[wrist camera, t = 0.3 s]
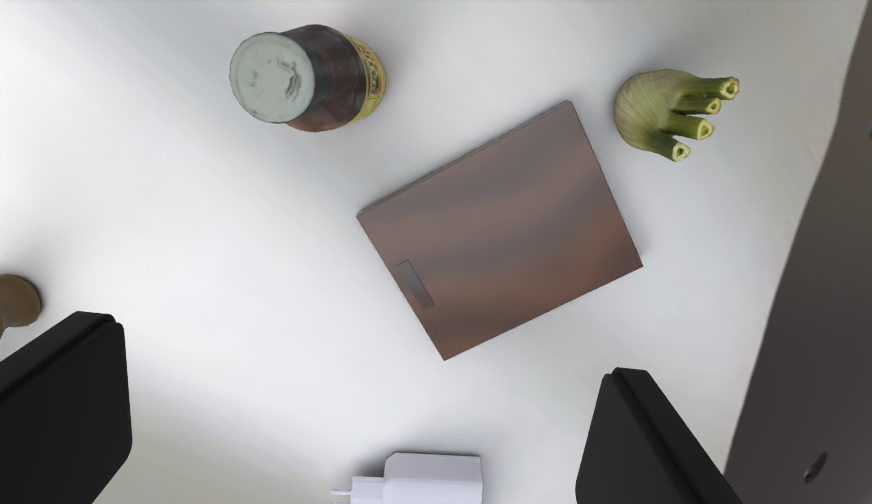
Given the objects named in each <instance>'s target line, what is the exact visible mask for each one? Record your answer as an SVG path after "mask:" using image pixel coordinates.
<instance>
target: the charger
mask: <svg viewBox="0 0 872 504" xmlns="http://www.w3.org/2000/svg"><path fill="white" fill-rule="evenodd" d="M482 491H483V479H482V471H481V463H480V457H473V456H454V455H434V454H414V453H394V454H393V455H392V456H390V457H389V458H388V459H387V460H386V462H385V470H384V477H364V476H352V486H351V490H339V489H332V490H331V494H337V495H351V503H334V502H332V503H331V504H481V502H482Z"/></svg>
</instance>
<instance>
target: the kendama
mask: <svg viewBox="0 0 872 504" xmlns="http://www.w3.org/2000/svg"><path fill="white" fill-rule="evenodd" d="M39 314H40V300H39V297H38V295H37V292H36V291H35V289H34V288H33V287H32V286H31V285H30V283H29V282H27V281H25V280H23V279H21V278H19V277H16V276H11V275H0V339H1V336H2V334H3V332H4V329H6V328H8V327H22V326H28V325H29V324H31V323H33V322H35V321H36V320H37V318H38V316H39Z"/></svg>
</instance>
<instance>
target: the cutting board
mask: <svg viewBox="0 0 872 504" xmlns="http://www.w3.org/2000/svg"><path fill="white" fill-rule="evenodd" d="M357 219H358V221H359V222H360V224H361V226H362V227H363V229H364V230H365V232H366V234H367V235H368V237H369V239H370V240H371V242H372V244H373V245H374V247H375V248H376V250H377V252H378V253H379V255H380V257H381V258H382V260H383V262H384V263H385V265H386V266H387V268H388V270H389V271H390V273H391V275H392V276H393V278H394V280H395V281H396V283H397V285H398V286H399V288H400V289H401V291H402V293H403V294H404V296H405V298H406V299H407V301H408V303H409V304H410V306H411V307H412V309H413V311H414V312H415V314H416V316H417V317H418V319H419V321H420V322H421V324H422V326H423V327H424V329H425V330H426V332H427V334H428V335H429V337H430V339H431V340H432V342H433V344H434V345H435V347H436V348H437V350H438V352H439V353H440V355H441V357H442V358H443V360H444V361H445V360H447V359H449V358H452V357H454V356H456V355H458V354H460V353H462V352H464V351H466V350H468V349H471V348H473V347H475V346H477V345H479V344H481V343H483V342H485V341H487V340H489V339H492V338H494V337H496V336H498V335H500V334H502V333H504V332H506V331H508V330H511V329H513V328H515V327H517V326H519V325H521V324H523V323H525V322H527V321H529V320H532V319H534V318H536V317H538V316H540V315H542V314H544V313H546V312H548V311H551V310H553V309H555V308H557V307H559V306H561V305H563V304H565V303H567V302H570V301H572V300H574V299H576V298H578V297H580V296H582V295H584V294H586V293H588V292H591V291H593V290H595V289H597V288H599V287H601V286H603V285H605V284H607V283H610V282H612V281H614V280H616V279H618V278H620V277H622V276H624V275H626V274H628V273H631V272H633V271H635V270H637V269H639V268H641V267H643V264H642V262H641V260H640V257H639V255H638V253H637V251H636V248H635V246H634V244H633V241H632V239H631V237H630V235H629V232H628V230H627V228H626V225H625V223H624V221H623V219H622V216H621V214H620V212H619V209H618V207H617V205H616V203H615V200H614V198H613V196H612V193H611V191H610V189H609V187H608V184H607V182H606V180H605V177H604V175H603V173H602V171H601V168H600V166H599V164H598V161H597V159H596V157H595V155H594V152H593V150H592V148H591V145H590V143H589V141H588V139H587V136H586V134H585V132H584V129H583V127H582V125H581V123H580V120H579V118H578V116H577V113H576V111H575V109H574V107H573V104H572V102H571V101H565V102H563V103H561V104H559V105H557V106H556V107H554V108H552V109H550V110H548V111H546V112H544V113H543V114H541V115H539V116H537V117H535V118H533V119H531V120H529V121H528V122H526V123H524V124H522V125H520V126H518V127H516V128H515V129H513V130H511V131H509V132H507V133H505V134H503V135H502V136H500V137H498V138H496V139H494V140H492V141H490V142H489V143H487V144H485V145H483V146H481V147H479V148H477V149H476V150H474V151H472V152H470V153H468V154H466V155H464V156H462V157H461V158H459V159H457V160H455V161H453V162H451V163H449V164H448V165H446V166H444V167H442V168H440V169H438V170H436V171H435V172H433V173H431V174H429V175H427V176H425V177H423V178H422V179H420V180H418V181H416V182H414V183H412V184H410V185H409V186H407V187H405V188H403V189H401V190H399V191H397V192H395V193H394V194H392V195H390V196H388V197H386V198H384V199H382V200H381V201H379V202H377V203H375V204H373V205H371V206H369V207H368V208H366V209H364V210H362V211H360V212H359V213H358V215H357Z"/></svg>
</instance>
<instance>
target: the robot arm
mask: <svg viewBox="0 0 872 504" xmlns="http://www.w3.org/2000/svg"><path fill="white" fill-rule="evenodd" d="M131 447H132V428H131V415H130V402H129V389H128V375H127V362H126V349H125V336H124V328H123V326H122V324H120V323H116V321H115V319H114V317H113V316H112V315H110V314H101V313H92V312H82V311H77V312H75V313H73V314H71V315H70V316H68V317H67V318H65V319H64V320H62V321H61V322H59V323H58V324H56V325H55V326H53V327H52V328H50V329H49V330H47V331H46V332H44V333H43V334H41V335H40V336H38V337H37V338H35V339H34V340H32V341H31V342H29V343H28V344H26V345H25V346H23V347H22V348H20V349H19V350H17V351H16V352H14V353H13V354H11V355H10V356H8V357H7V358H5V359H4V360H3V361H1V362H0V504H92V503H93V502H94V500H95V499H96V498H97V497H98V495H99V494H100V493H101V491H102V490H103V489H104V488H105V486H106V485H107V484H108V483H109V481H110V480H111V479H112V478H113V476H114V475H115V474H116V472H117V471H118V470H119V469H120V467H121V466H122V465H123V464H124V462H125V461H126V459H127V458H128V456H129V453H130V450H131ZM575 493H576V501H577V504H743V503H742V502H741V500H740V499H739V498H738V496H737V495H736V493H735V492H734V491H733V489H732V488H731V486H730V485H729V484H728V482H727V481H726V480H725V478H724V477H723V475H722V474H721V473H720V471H719V470H718V468H717V467H716V466H715V464H714V463H713V461H712V460H711V459H710V457H709V456H708V454H707V453H706V452H705V450H704V449H703V448H702V446H701V445H700V443H699V442H698V441H697V439H696V438H695V436H694V435H693V434H692V432H691V431H690V430H689V428H688V427H687V425H686V424H685V423H684V421H683V420H682V418H681V417H680V416H679V414H678V413H677V411H676V410H675V409H674V407H673V406H672V405H671V403H670V402H669V400H668V399H667V398H666V396H665V395H664V393H663V392H662V391H661V389H660V388H659V386H658V385H657V384H656V382H655V381H654V380H653V378H652V377H651V375H650V374H649V373H648V372H647V371H646V370H638V369H629V368H619V367H617V368H615V369H614V370H613V372H612V374H605V375H604V377H603V379H602V382H601V386H600V390H599V394H598V398H597V402H596V406H595V410H594V414H593V418H592V421H591V425H590V429H589V433H588V437H587V441H586V445H585V449H584V453H583V457H582V461H581V464H580V468H579V472H578V476H577V480H576V487H575Z"/></svg>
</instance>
